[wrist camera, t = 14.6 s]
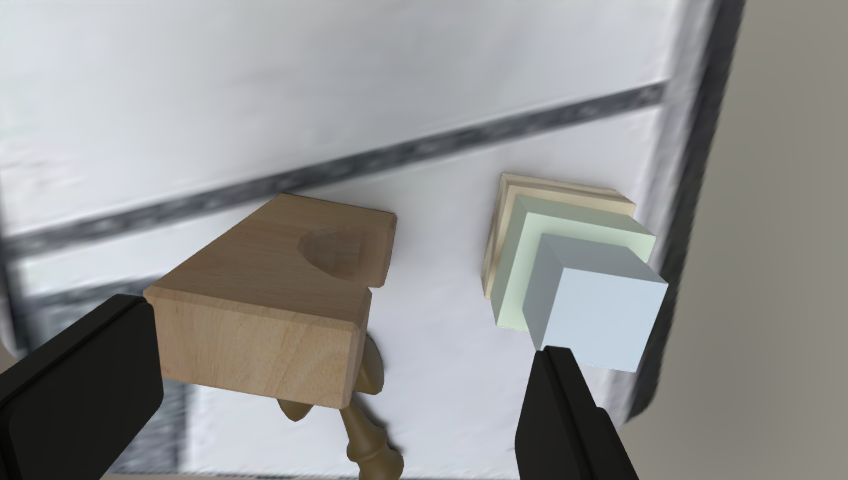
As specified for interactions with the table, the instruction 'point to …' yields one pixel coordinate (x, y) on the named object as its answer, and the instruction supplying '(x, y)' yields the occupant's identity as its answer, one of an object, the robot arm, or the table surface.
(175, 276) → the decorative block
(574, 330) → the grey-blue cube
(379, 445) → the kendama
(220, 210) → the table surface
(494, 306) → the upper tower block
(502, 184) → the lower tower block
